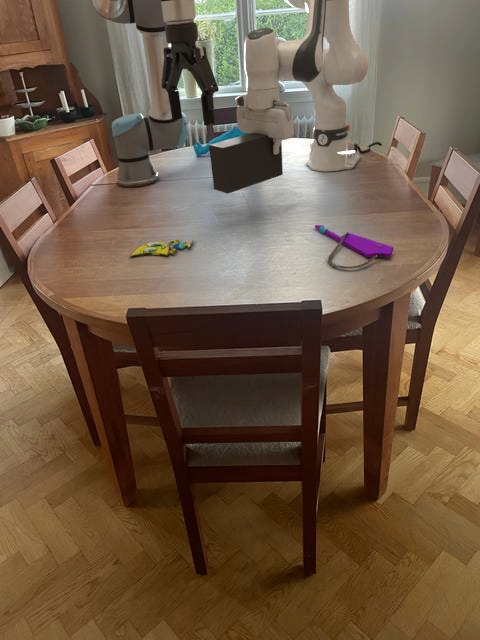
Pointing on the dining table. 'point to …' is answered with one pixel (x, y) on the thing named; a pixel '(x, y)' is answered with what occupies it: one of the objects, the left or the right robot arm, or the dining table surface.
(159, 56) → the left robot arm
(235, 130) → the toy
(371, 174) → the dining table surface
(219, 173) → the box
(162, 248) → the toy
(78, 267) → the dining table surface
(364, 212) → the dining table surface
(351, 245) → the musical instrument
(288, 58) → the right robot arm
